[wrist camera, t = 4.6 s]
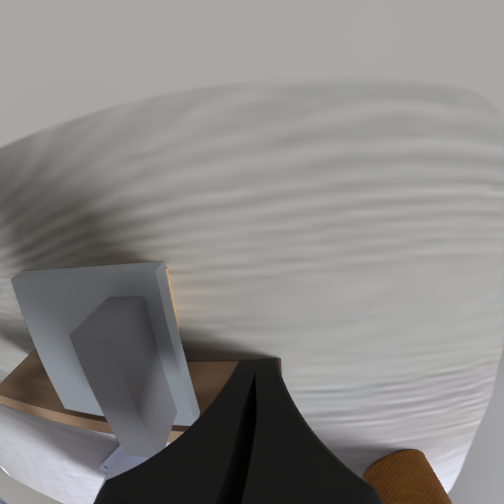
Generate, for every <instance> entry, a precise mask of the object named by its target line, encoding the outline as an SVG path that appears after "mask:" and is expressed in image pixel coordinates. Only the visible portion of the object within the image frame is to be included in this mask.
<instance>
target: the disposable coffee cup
mask: <svg viewBox="0 0 504 504" xmlns="http://www.w3.org/2000/svg"><path fill="white" fill-rule="evenodd" d="M363 480H364V481H365V482H367V483H368V484H370V485H371V486H373V487H374V488H375V490H376V491H377V493H378V495H379V496H380V498H381V500H382V502H383V504H452V503H451V501H450V499H449V497H448V495H447V494H446V492H445V490H444V488H443V486H442V485H441V483H440V481H439V480H438V478H437V476H436V474H435V473H434V471H433V469H432V468H431V466H430V464H429V463H428V461H427V459H426V457H425V455H424V454H423V452H421V451H419V450H404V451H400V452H396V453H393V454H390V455H388V456H386V457H384V458H382V459H380V460H378V461H377V462H375V463H373V464H372V465H371V466H370V467H369V468H368V469H367V470H366V471H365V472H364V475H363Z"/></svg>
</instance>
